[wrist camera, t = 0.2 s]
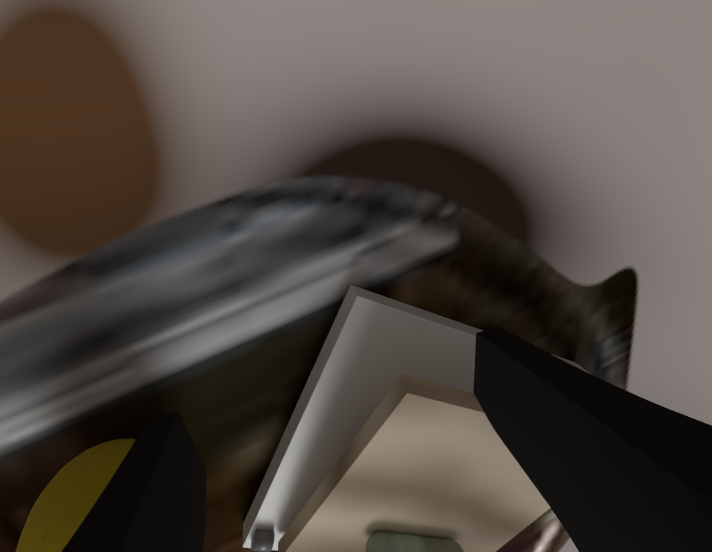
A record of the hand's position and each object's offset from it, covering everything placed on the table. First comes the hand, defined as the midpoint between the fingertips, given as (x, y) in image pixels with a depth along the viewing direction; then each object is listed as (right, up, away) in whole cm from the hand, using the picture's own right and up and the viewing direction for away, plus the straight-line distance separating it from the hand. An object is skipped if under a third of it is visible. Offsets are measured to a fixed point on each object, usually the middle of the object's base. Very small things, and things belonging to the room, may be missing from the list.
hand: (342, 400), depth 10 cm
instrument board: (+5, -8, +12) cm, 15 cm away
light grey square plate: (+4, -7, +15) cm, 17 cm away
